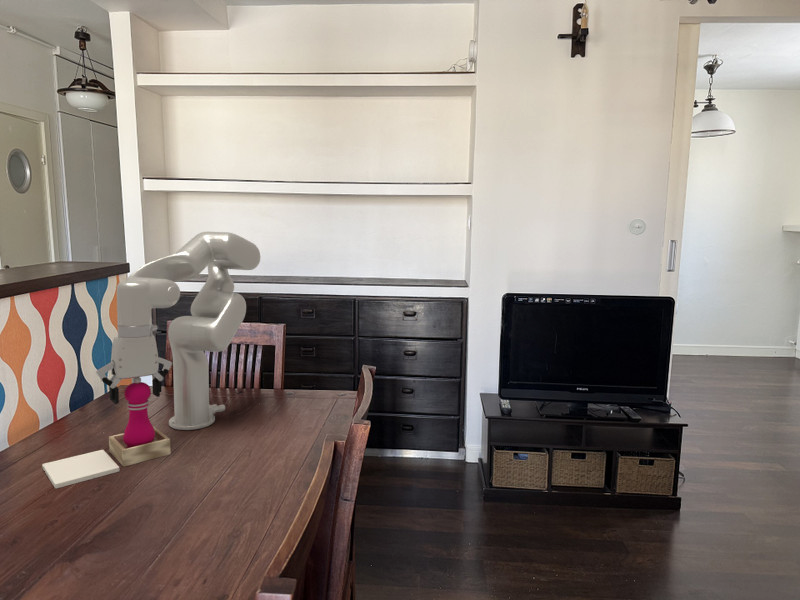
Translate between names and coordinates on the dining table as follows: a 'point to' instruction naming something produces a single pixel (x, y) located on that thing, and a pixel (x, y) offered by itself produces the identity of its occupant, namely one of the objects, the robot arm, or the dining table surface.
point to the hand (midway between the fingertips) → (136, 398)
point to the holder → (139, 449)
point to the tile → (79, 468)
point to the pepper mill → (138, 415)
